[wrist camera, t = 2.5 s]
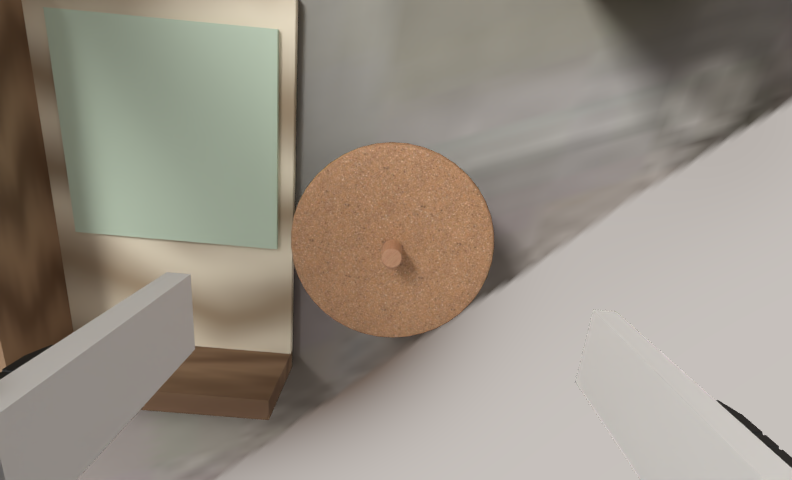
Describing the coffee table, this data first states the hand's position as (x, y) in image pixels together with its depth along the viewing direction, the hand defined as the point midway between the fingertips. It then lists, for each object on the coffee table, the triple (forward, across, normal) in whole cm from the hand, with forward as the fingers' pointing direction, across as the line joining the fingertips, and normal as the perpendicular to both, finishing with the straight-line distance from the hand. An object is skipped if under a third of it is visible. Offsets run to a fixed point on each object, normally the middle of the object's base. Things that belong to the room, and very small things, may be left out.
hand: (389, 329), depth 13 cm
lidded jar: (+16, 0, 0) cm, 16 cm away
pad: (+16, -15, +4) cm, 22 cm away
